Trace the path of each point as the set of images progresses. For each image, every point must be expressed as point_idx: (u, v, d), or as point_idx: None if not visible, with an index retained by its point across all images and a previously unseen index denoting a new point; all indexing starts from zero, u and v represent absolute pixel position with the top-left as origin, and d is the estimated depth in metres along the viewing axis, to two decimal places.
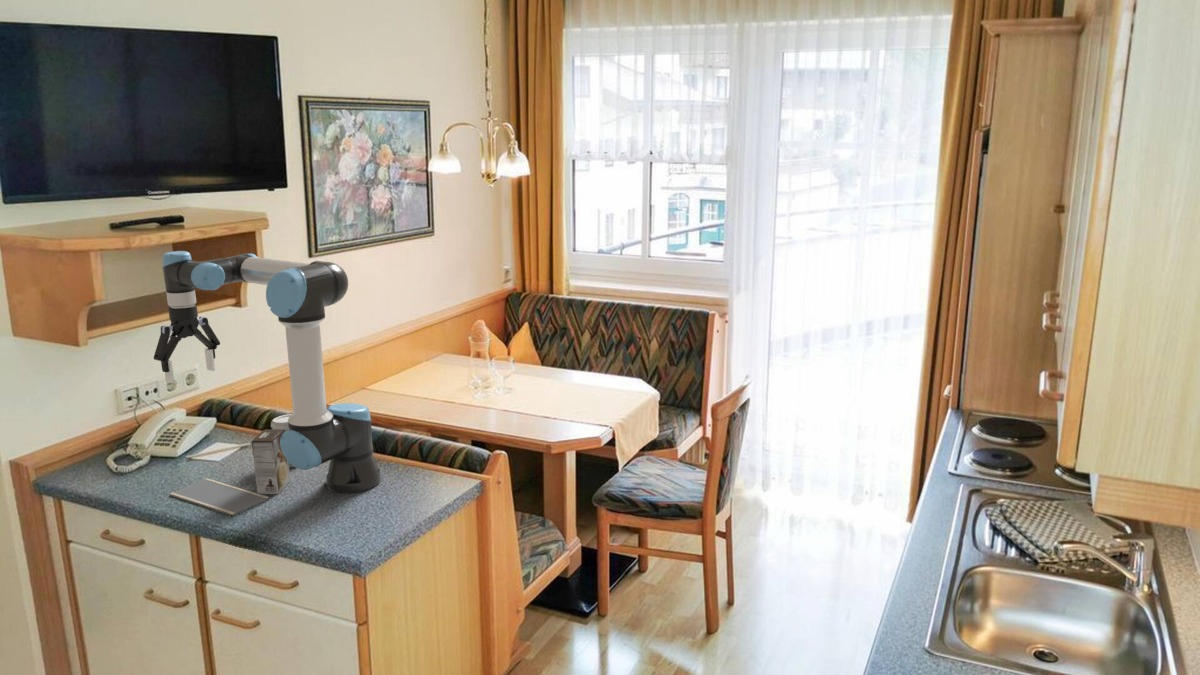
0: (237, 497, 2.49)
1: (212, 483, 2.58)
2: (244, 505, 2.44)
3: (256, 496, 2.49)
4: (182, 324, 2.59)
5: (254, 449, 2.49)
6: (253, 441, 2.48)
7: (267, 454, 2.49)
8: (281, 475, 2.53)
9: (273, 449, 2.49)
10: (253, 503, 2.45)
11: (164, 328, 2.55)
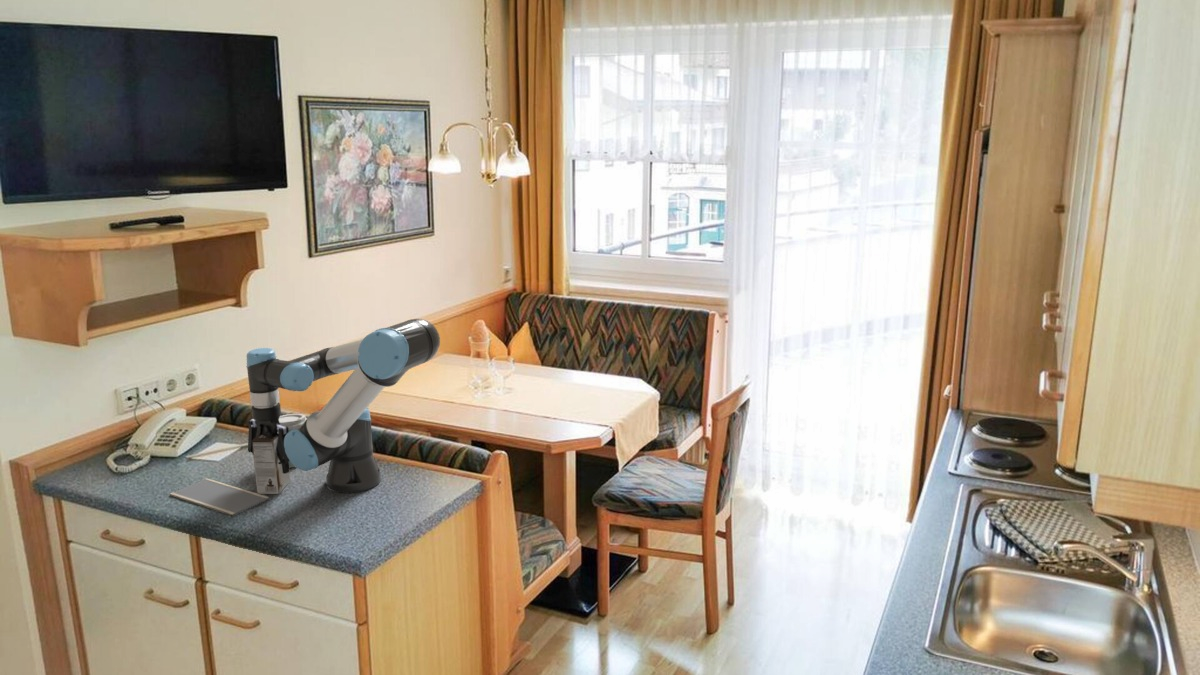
0: (237, 497, 2.49)
1: (212, 483, 2.58)
2: (244, 505, 2.44)
3: (256, 496, 2.49)
4: (260, 420, 2.51)
5: (254, 449, 2.49)
6: (253, 441, 2.48)
7: (267, 454, 2.49)
8: None
9: (273, 449, 2.49)
10: (253, 503, 2.45)
11: None
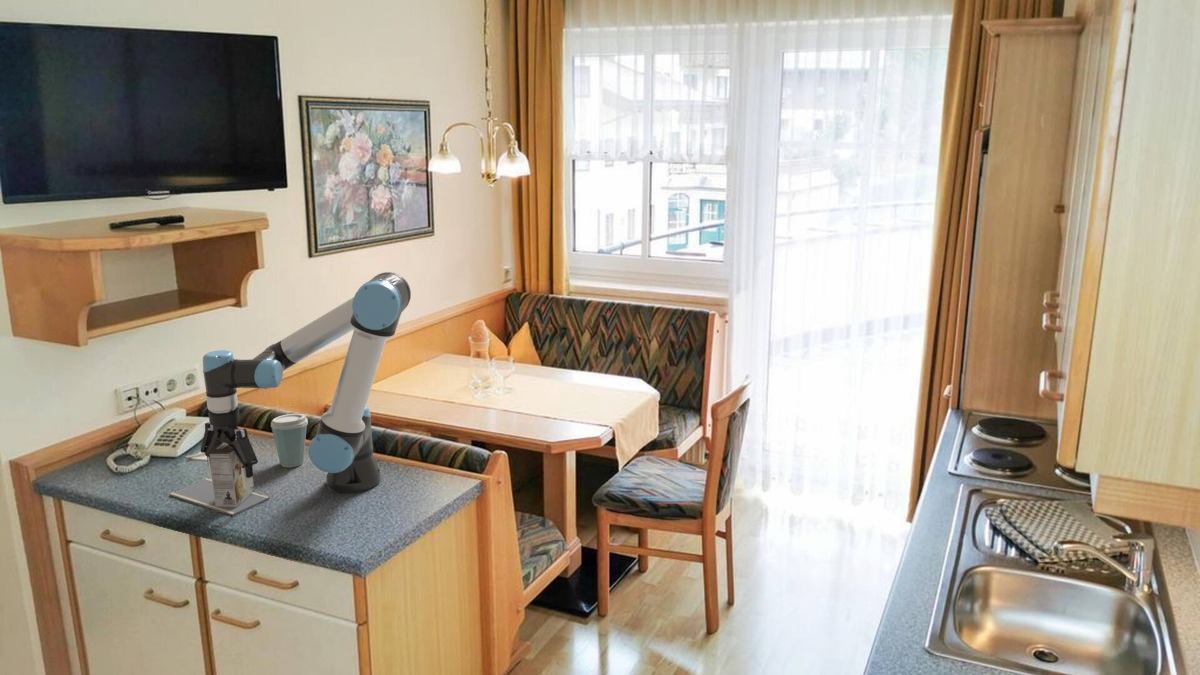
0: None
1: (212, 483, 2.58)
2: (244, 505, 2.44)
3: (256, 496, 2.49)
4: (218, 427, 2.41)
5: (211, 461, 2.39)
6: (210, 452, 2.39)
7: (224, 466, 2.40)
8: (239, 487, 2.44)
9: (230, 461, 2.39)
10: (253, 503, 2.45)
11: None
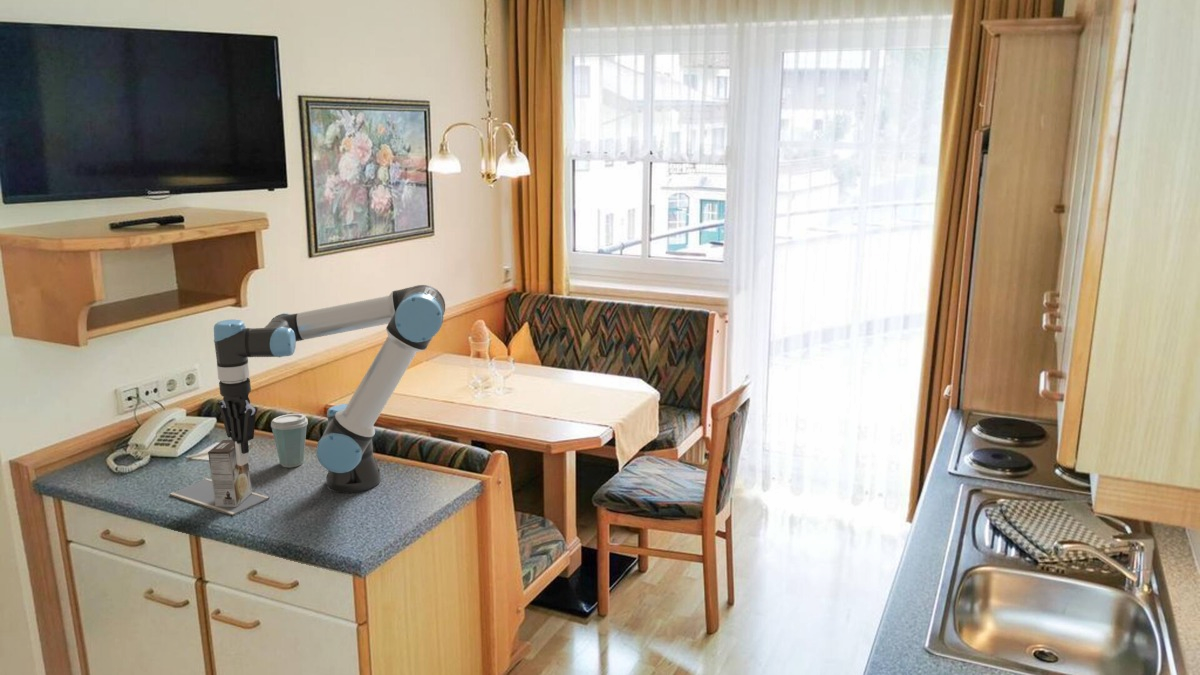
0: None
1: None
2: (244, 505, 2.44)
3: (256, 496, 2.49)
4: None
5: (211, 461, 2.40)
6: (209, 452, 2.39)
7: (224, 466, 2.40)
8: (239, 487, 2.44)
9: (230, 461, 2.39)
10: (253, 503, 2.45)
11: None
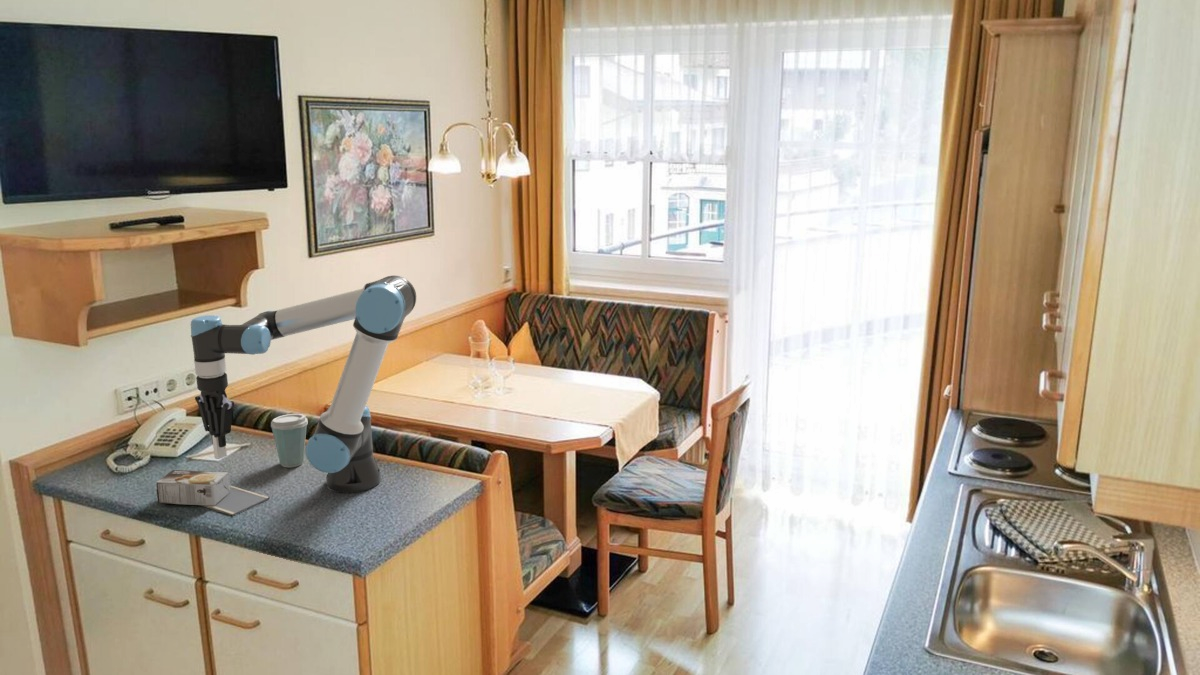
0: (237, 497, 2.49)
1: None
2: (244, 505, 2.44)
3: (256, 496, 2.49)
4: None
5: (167, 501, 2.44)
6: (158, 501, 2.44)
7: (170, 489, 2.43)
8: (200, 480, 2.45)
9: (164, 483, 2.43)
10: (253, 503, 2.45)
11: None
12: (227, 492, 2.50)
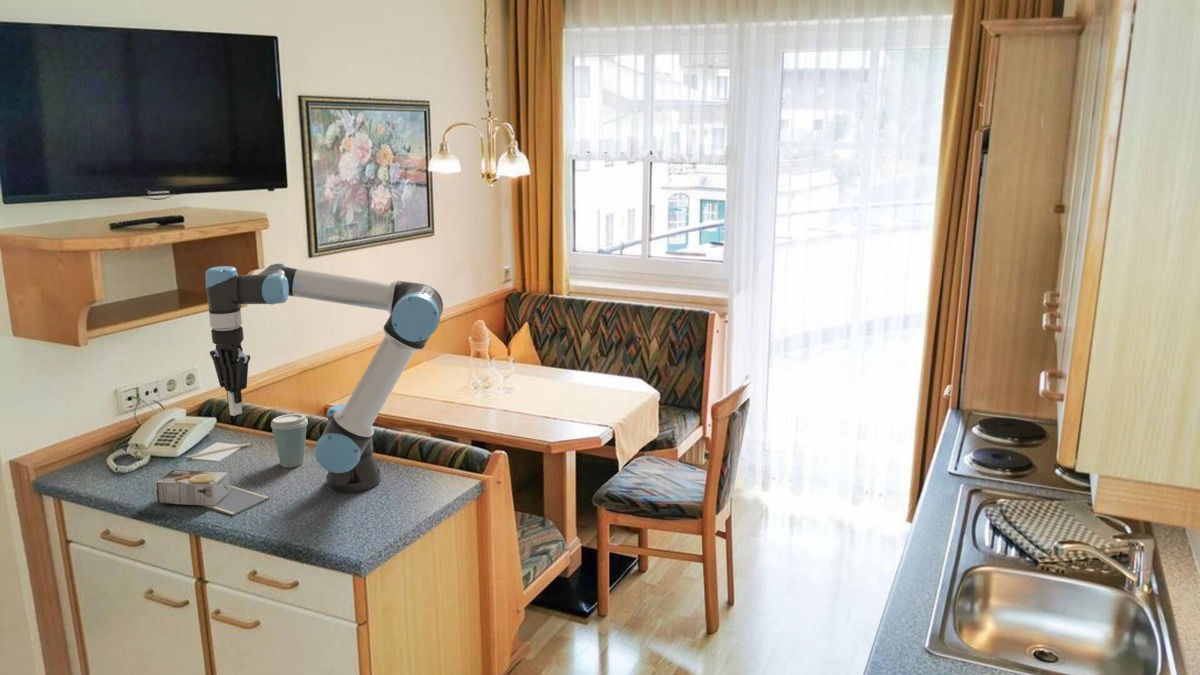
0: (237, 497, 2.49)
1: None
2: (244, 505, 2.44)
3: (256, 496, 2.49)
4: None
5: (167, 501, 2.44)
6: (158, 501, 2.44)
7: (170, 489, 2.43)
8: (200, 480, 2.45)
9: (164, 483, 2.43)
10: (253, 503, 2.45)
11: None
12: (227, 492, 2.50)
